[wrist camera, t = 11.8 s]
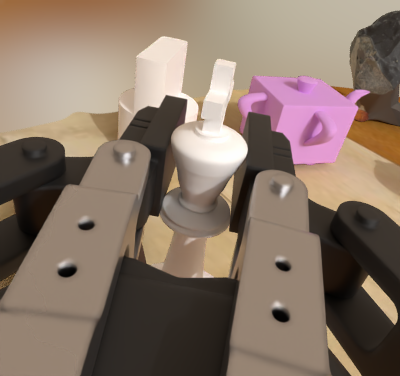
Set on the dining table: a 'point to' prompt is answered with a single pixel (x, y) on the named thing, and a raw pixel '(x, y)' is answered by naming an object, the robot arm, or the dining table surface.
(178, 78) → the base with upright slab
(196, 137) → the chess piece
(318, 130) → the teapot
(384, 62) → the narwhal figurine
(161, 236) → the dining table surface
